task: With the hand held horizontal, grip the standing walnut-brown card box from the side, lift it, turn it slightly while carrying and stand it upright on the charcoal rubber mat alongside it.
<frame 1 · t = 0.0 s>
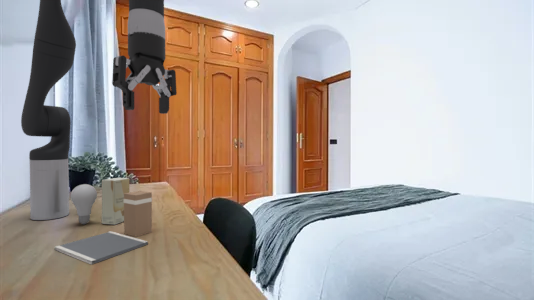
hand: (147, 111, 62), 29 cm above the table, tool pointing down, fingers open, 8 cm apart
mat: (102, 246, 61), on the table
card box: (138, 232, 70), on the table
lightbulb: (84, 224, 77), on the table
skincare box: (116, 222, 80), on the table
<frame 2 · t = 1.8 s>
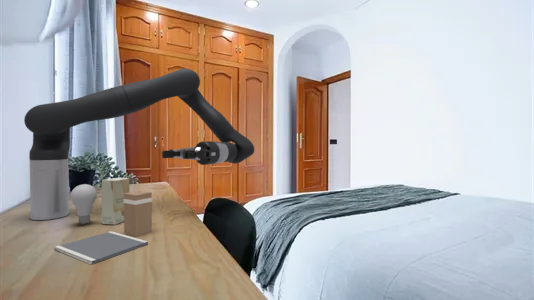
hand: (173, 154, 79), 19 cm above the table, tool horizontal, fingers open, 8 cm apart
nothing on the table moved.
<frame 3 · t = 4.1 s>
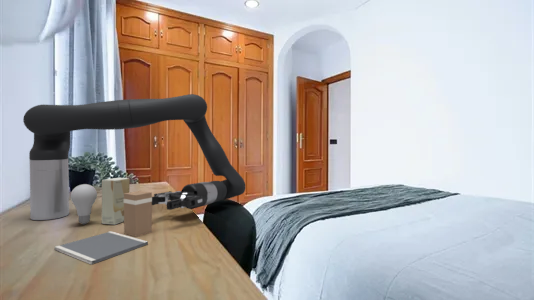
hand: (156, 204, 75), 6 cm above the table, tool horizontal, fingers open, 8 cm apart
nothing on the table moved.
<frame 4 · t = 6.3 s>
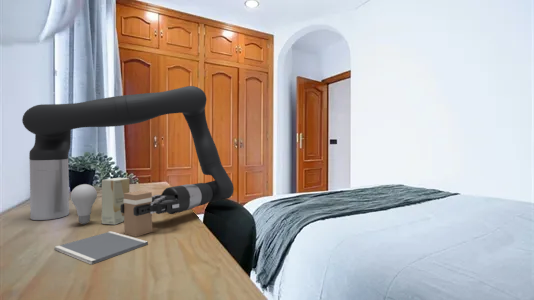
hand: (128, 210, 68), 6 cm above the table, tool horizontal, fingers closed on card box, 4 cm apart
card box: (138, 232, 70), on the table, touching gripper
everything else where it was.
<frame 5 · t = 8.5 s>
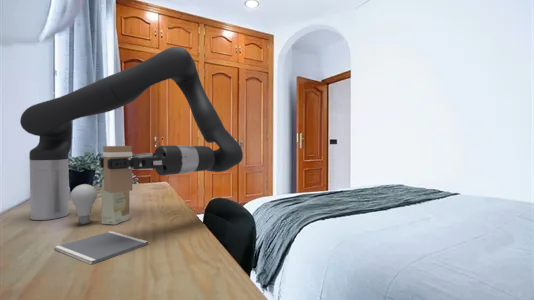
hand: (104, 163, 61), 18 cm above the table, tool horizontal, fingers closed on card box, 4 cm apart
card box: (118, 190, 64), point 12 cm above the table, touching gripper
everything else where it was.
when the fingers open (8 cm above the table, at t = 11.0 s): card box stays where it is, resting on mat.
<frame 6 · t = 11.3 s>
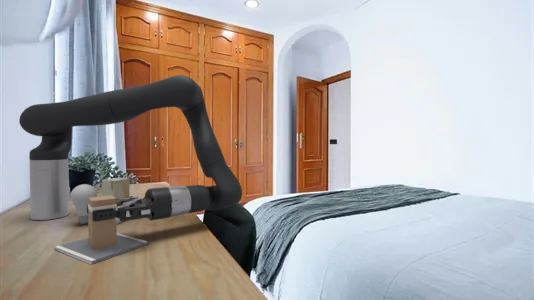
hand: (89, 212, 59), 8 cm above the table, tool horizontal, fingers open, 6 cm apart
card box: (102, 244, 61), point 1 cm above the table, touching mat
everything else where it was.
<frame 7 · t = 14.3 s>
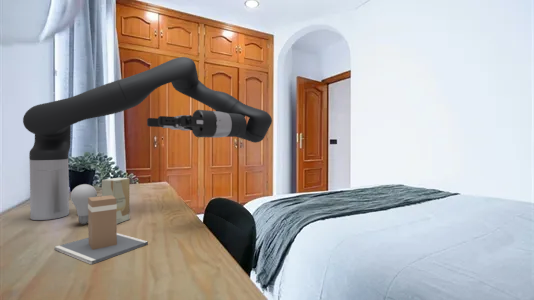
hand: (152, 121, 70), 28 cm above the table, tool horizontal, fingers open, 8 cm apart
nothing on the table moved.
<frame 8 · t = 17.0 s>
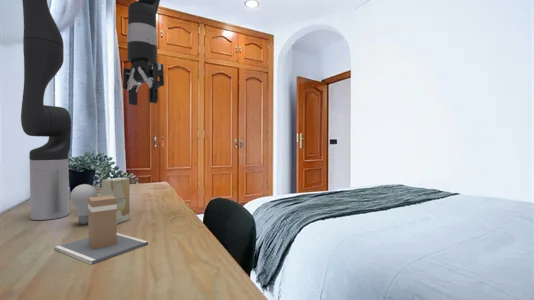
hand: (142, 103, 78), 33 cm above the table, tool pointing down, fingers open, 8 cm apart
nothing on the table moved.
at the end: card box inside the target area on the mat (0.0 cm from its centre), point 0.6 cm above the mat's base; card box tilted 0°; the gripper is holding nothing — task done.
